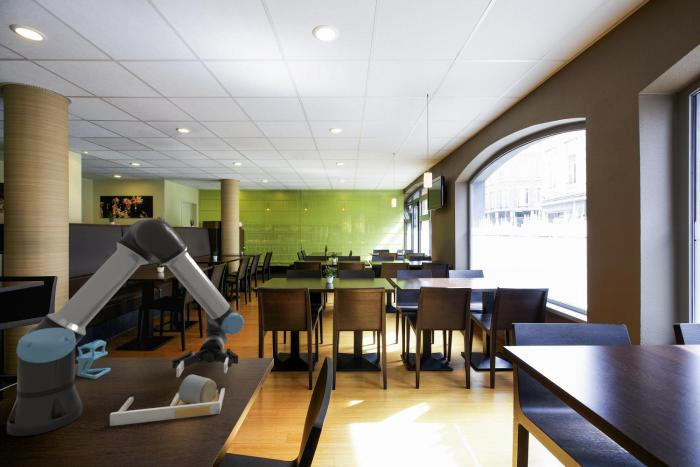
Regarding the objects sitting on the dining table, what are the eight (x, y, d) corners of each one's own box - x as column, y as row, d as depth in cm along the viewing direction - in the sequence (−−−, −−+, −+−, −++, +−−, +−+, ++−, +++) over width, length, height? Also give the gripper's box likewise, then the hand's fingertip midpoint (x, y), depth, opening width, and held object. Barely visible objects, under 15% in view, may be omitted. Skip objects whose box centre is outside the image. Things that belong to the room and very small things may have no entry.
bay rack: (109, 426, 90) (109, 415, 90) (129, 401, 104) (129, 391, 104) (219, 414, 97) (219, 403, 97) (224, 391, 111) (224, 382, 111)
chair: (89, 370, 128) (89, 337, 128) (111, 370, 128) (111, 337, 128) (71, 378, 120) (71, 344, 120) (94, 379, 120) (95, 344, 120)
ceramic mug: (201, 410, 98) (201, 383, 98) (177, 406, 100) (178, 379, 100) (224, 395, 108) (225, 370, 108) (203, 391, 110) (203, 367, 111)
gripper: (247, 356, 130) (244, 379, 109) (174, 362, 124) (156, 387, 103) (247, 336, 130) (244, 355, 109) (175, 341, 124) (157, 361, 103)
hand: (201, 370), depth 106 cm, fingers open, 13 cm apart
